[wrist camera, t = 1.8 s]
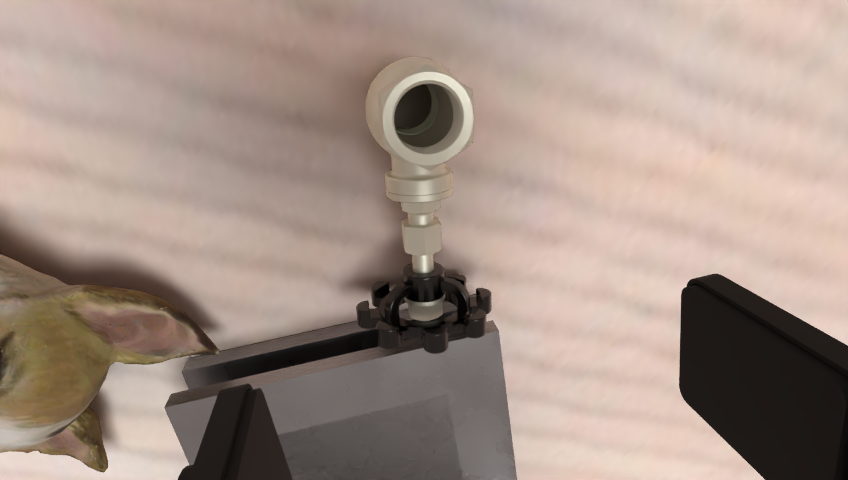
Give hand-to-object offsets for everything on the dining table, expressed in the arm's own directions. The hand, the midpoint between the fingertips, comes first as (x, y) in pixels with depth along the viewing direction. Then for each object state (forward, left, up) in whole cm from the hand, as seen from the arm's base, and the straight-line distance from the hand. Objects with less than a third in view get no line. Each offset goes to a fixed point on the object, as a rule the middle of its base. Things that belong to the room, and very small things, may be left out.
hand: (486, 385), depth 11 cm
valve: (0, +1, -16) cm, 16 cm away
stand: (+15, -5, -16) cm, 22 cm away
